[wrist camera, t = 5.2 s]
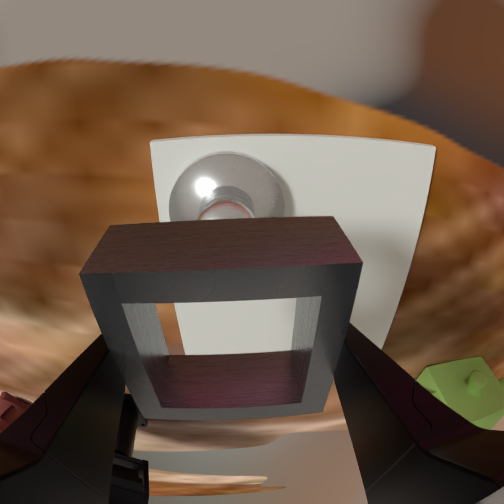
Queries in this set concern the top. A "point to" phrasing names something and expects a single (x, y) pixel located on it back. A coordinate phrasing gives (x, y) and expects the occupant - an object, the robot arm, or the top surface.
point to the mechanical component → (10, 409)
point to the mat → (313, 204)
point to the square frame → (219, 290)
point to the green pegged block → (467, 389)
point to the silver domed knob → (226, 189)
